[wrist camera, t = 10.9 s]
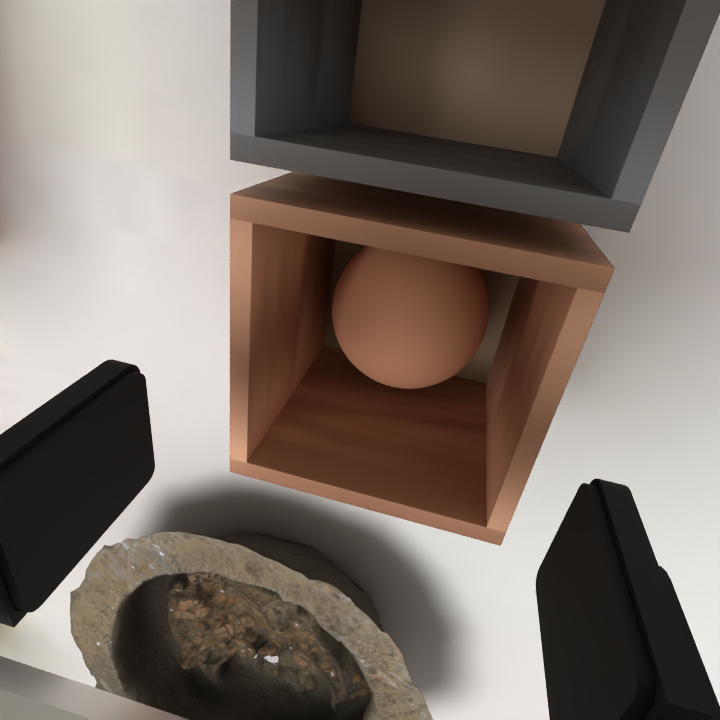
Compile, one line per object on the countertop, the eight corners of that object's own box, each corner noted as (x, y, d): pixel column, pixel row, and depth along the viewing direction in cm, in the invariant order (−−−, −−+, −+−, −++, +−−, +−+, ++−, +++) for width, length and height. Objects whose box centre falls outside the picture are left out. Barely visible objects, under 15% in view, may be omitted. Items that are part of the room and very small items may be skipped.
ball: (362, 204, 20) (319, 240, 15) (505, 231, 19) (513, 279, 14) (345, 331, 23) (305, 397, 18) (469, 359, 22) (464, 436, 17)
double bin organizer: (348, -213, 16) (171, -623, 7) (712, -187, 14) (1090, -665, 5) (301, 354, 26) (206, 484, 17) (508, 403, 24) (520, 572, 16)
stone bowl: (297, 729, 45) (249, 861, 37) (95, 545, 42) (-6, 645, 34) (523, 662, 33) (524, 836, 25) (261, 397, 30) (165, 496, 22)
